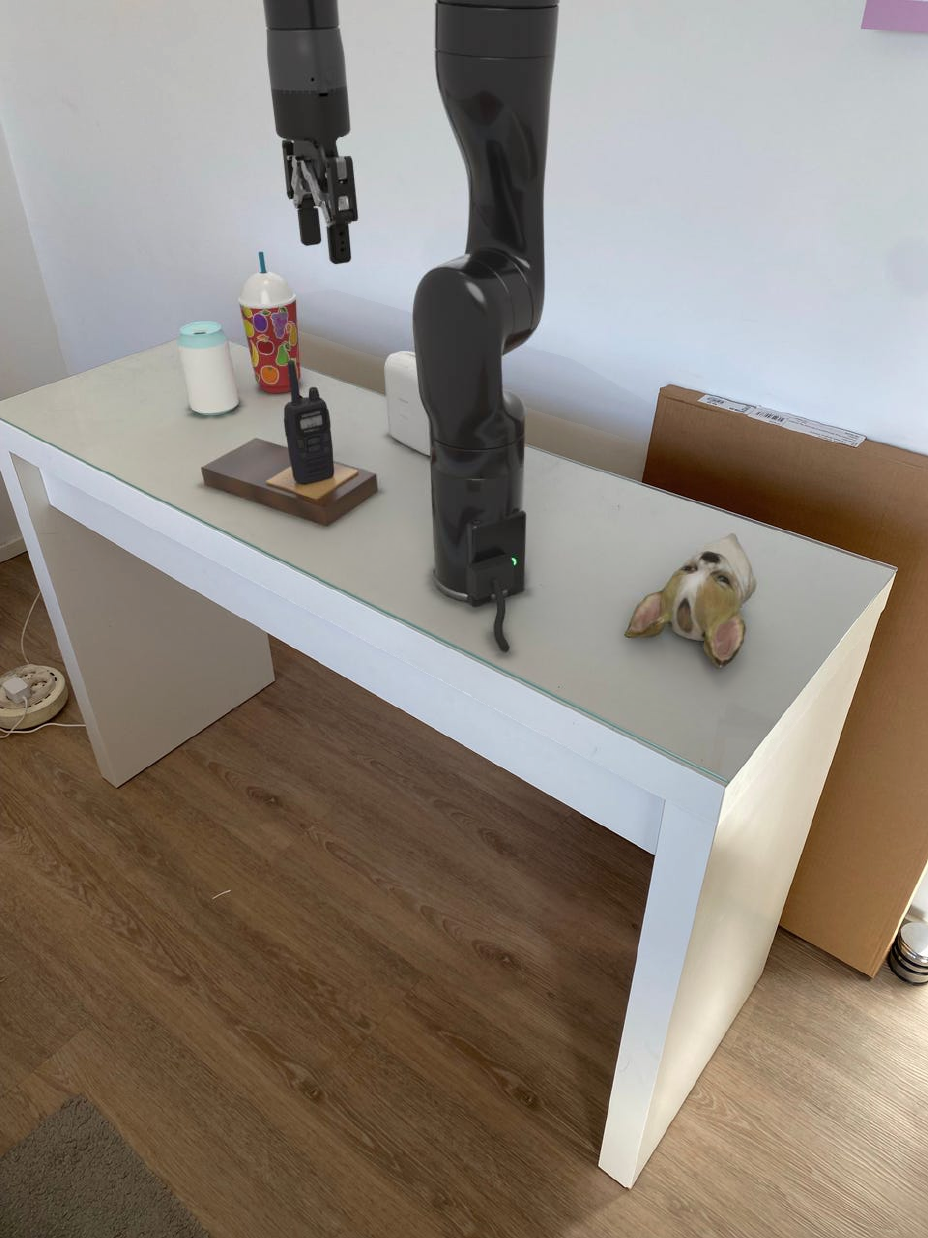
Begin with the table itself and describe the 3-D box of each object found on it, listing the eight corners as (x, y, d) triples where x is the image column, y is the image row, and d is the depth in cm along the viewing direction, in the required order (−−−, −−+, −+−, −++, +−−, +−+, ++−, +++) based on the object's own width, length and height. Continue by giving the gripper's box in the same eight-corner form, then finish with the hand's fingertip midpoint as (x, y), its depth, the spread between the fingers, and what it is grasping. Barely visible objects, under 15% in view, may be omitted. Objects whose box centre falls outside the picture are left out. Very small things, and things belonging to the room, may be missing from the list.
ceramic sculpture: (790, 532, 87) (736, 619, 77) (775, 603, 92) (724, 693, 83) (684, 505, 92) (621, 584, 82) (676, 574, 97) (616, 656, 88)
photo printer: (384, 435, 126) (377, 348, 119) (409, 427, 129) (404, 340, 121) (429, 461, 120) (425, 370, 113) (454, 451, 122) (452, 362, 115)
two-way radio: (298, 489, 108) (281, 367, 99) (284, 474, 111) (266, 354, 102) (340, 477, 111) (327, 357, 102) (325, 463, 114) (312, 345, 105)
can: (248, 406, 135) (235, 326, 128) (208, 421, 131) (192, 339, 124) (221, 394, 139) (207, 315, 132) (181, 408, 135) (164, 328, 128)
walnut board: (377, 491, 113) (376, 471, 112) (327, 526, 107) (324, 505, 105) (258, 454, 122) (255, 435, 120) (204, 485, 115) (200, 465, 114)
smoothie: (289, 372, 146) (271, 241, 134) (316, 387, 141) (301, 252, 129) (242, 385, 142) (220, 251, 130) (269, 401, 136) (249, 263, 125)
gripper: (249, 77, 93) (271, 243, 103) (298, 92, 83) (317, 274, 93) (317, 72, 96) (332, 234, 106) (372, 86, 86) (384, 263, 96)
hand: (325, 253), depth 99 cm, fingers open, 8 cm apart
